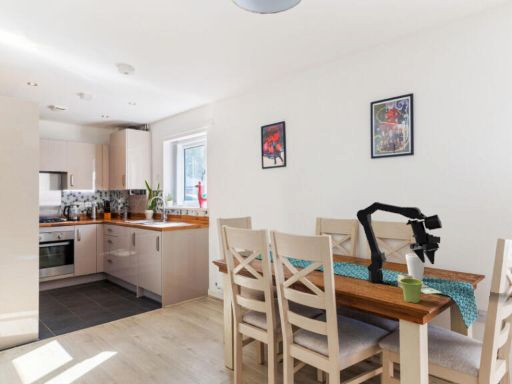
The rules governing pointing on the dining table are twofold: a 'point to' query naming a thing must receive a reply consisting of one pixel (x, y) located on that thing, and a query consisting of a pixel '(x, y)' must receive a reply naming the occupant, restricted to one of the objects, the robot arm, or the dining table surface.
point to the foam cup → (415, 266)
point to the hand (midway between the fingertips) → (428, 263)
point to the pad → (429, 290)
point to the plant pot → (411, 289)
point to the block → (403, 276)
